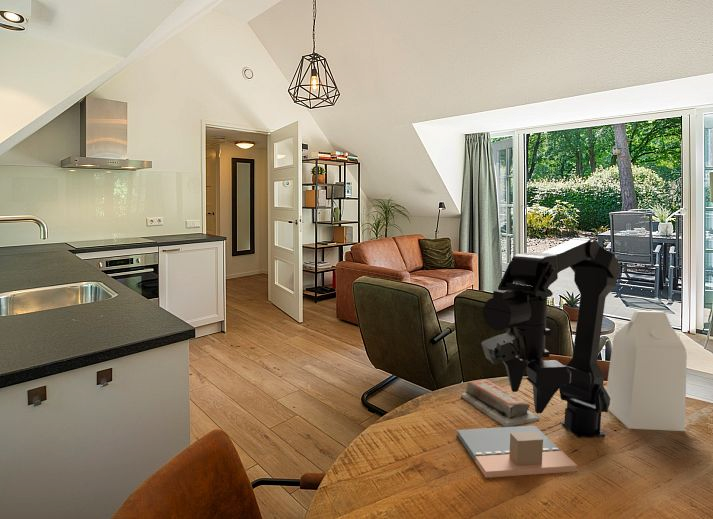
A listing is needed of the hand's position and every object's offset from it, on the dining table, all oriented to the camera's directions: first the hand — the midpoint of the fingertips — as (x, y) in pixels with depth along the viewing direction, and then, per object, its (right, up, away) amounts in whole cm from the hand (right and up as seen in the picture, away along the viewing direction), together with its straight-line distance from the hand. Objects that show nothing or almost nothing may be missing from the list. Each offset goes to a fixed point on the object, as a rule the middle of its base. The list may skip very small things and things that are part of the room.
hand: (525, 401), depth 81 cm
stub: (0, -13, +1) cm, 13 cm away
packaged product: (+3, -11, +26) cm, 28 cm away
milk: (+36, -11, +21) cm, 43 cm away
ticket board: (-1, -12, +9) cm, 15 cm away
